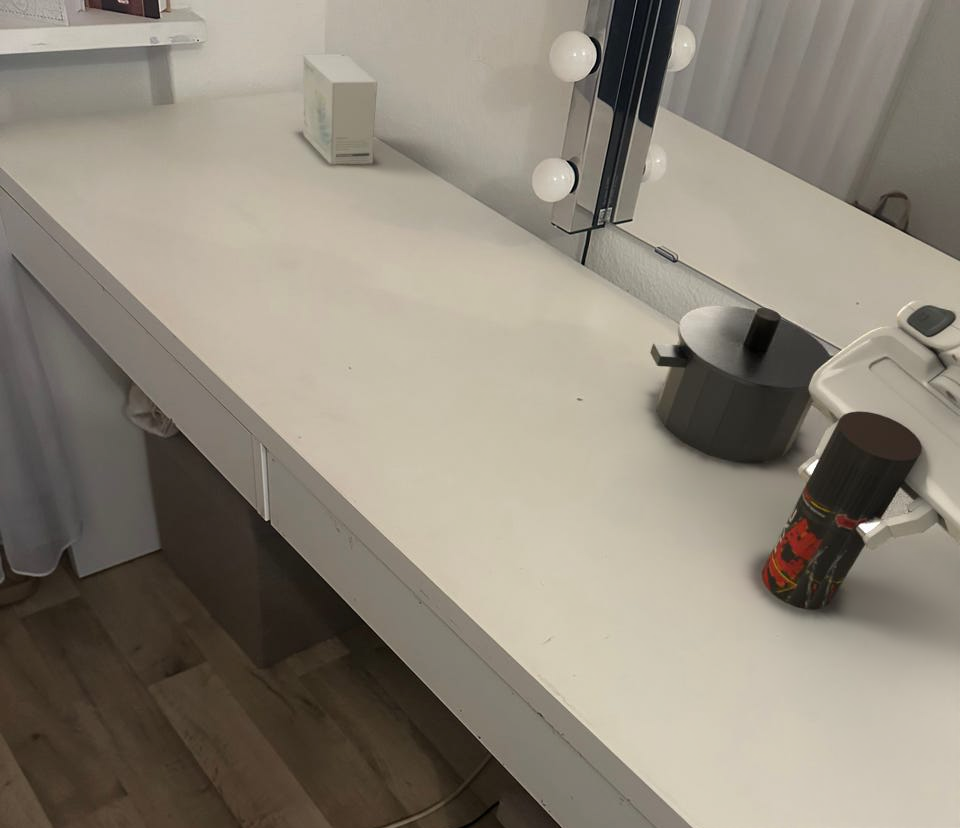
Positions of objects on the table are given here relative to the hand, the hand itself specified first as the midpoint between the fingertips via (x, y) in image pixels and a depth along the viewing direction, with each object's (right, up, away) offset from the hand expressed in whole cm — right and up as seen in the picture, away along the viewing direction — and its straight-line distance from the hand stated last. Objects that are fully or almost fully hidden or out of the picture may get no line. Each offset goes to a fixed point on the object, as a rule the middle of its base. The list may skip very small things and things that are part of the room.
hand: (832, 508), depth 68 cm
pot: (-2, +11, +22) cm, 25 cm away
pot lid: (-1, +17, +16) cm, 24 cm away
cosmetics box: (-46, +56, +56) cm, 92 cm away
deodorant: (-1, -6, +6) cm, 9 cm away
